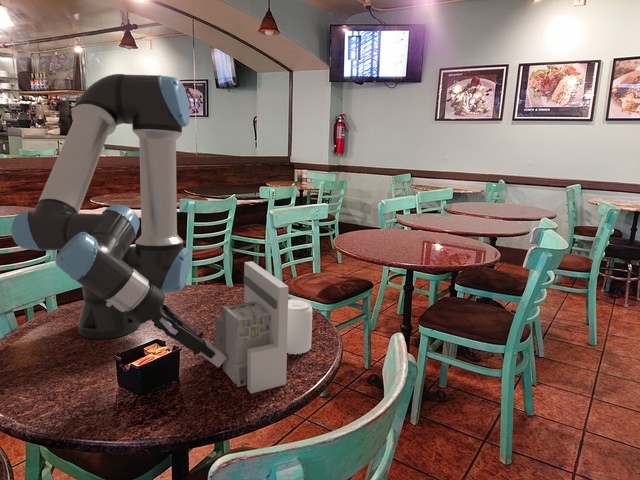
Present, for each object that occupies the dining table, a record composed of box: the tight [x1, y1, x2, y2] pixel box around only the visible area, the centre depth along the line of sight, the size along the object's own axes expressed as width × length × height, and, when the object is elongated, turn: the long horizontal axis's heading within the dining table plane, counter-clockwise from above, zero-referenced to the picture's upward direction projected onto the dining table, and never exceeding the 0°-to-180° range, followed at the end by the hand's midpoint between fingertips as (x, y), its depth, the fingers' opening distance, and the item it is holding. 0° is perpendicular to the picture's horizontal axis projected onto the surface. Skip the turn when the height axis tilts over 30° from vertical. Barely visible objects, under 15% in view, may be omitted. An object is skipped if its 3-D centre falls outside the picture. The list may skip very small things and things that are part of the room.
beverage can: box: [287, 297, 313, 356], centre depth 111 cm, size 8×8×12 cm
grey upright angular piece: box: [243, 260, 289, 394], centre depth 100 cm, size 20×8×22 cm, turn 30°
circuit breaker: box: [215, 302, 271, 388], centre depth 101 cm, size 8×14×15 cm, turn 34°
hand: (221, 360), depth 98 cm, fingers closed
